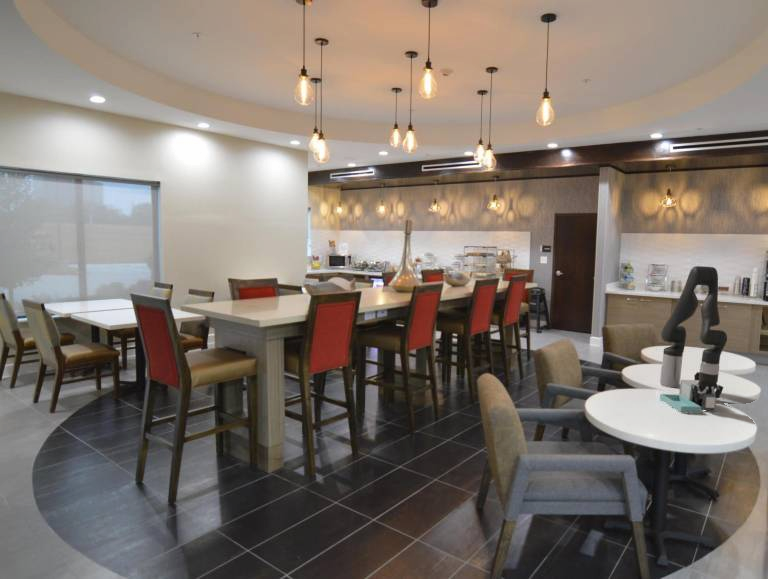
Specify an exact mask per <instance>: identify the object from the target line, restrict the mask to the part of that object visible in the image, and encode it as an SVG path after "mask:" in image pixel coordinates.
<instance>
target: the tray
mask: <svg viewBox="0 0 768 579" xmlns="http://www.w3.org/2000/svg"><path fill="white" fill-rule="evenodd" d="M659 394H660V395H659V400H660V399H661V400H662V401H664V402H666V403H667V404H669V405H670V406H672V407H673V408H672V407H671V408H672V409H674V408H675V409H676V411H677V410H678V411H677V412H679V413H680V412H692V413H691V414H702V410H701V406H699V405H697V404H695V403H693V402H692V401H690V400H688V399H686V398H684V397H683V396H681V395H679V394H676V393H675V394H672V393H671V394H670V393H659ZM661 400H660V401H661ZM662 401H661V402H662ZM664 402H663V403H664ZM667 404H666V405H667ZM669 405H668V406H669ZM670 406H669V407H670ZM675 409H674V410H675Z"/></svg>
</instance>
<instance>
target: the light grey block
mask: <svg viewBox="0 0 768 579" xmlns="http://www.w3.org/2000/svg"><path fill="white" fill-rule="evenodd" d="M698 383H699V380H695V379H680V387H679V394H678V395H681V396H683V397H684V398H686V399H688V400H690V401H692V397H693V393H692V384H694V385H696V384H698Z"/></svg>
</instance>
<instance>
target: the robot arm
mask: <svg viewBox="0 0 768 579" xmlns="http://www.w3.org/2000/svg"><path fill="white" fill-rule="evenodd" d="M718 274H719V273H718V270H717V269H716V268H715V267H713V266H701V265H699V266H698V265H697V266H693V267H692V268H691V269H690V271H689V273H688V276H687V279H686V282H685V285H684V288H683V290H682V291H681V294H680V296H679V298H678V300H677V301H676V304H675V306H674V309H673V311H672V313H671V315H670V317H669V318H668V320H667V321H666V322H665V325H664V326H663V328H662V331H661V339H662V341H664V342H665V343H674V344H672V345H671V346H667V347H664V349H663V351H662V352H663V355H662V364H661V368H660V370H661V371H660V381H659V382H660V385H661V386H664V387H668V388H680V383H681V376H682V375H681V374H682V367H683V366H682V364H683V355H684V351H685V344H686V340H687V330H686V328H685V327H684V325H681V324H682V323H683V322H686V321H687V320H689V319H690V318H691V317H693V315H694V314H695V313H696V311H697V309H698V307H699V299H698V297H697V294H696V292H695V289H696V287H697V286H707V287H708V290H707V291H708V293H707V295H706V297H705V299H704V300H703V302H702V304H701V307H700V314H701V330H700V334H699V340H700V341H701V343H702V344H703V345H706V346H707V345H708V346H711V348H705V349H704V350H702V356H701V362H700V365H699V366H700V368H699V372H700V373H699V383H698V384H696V385H694V384H692V393H693V396H695V397H696V398H697V401H696V404H697V405H699V406H701V403H702V396H703V394H705V393H712V394H715V395H716V399H720V397H721V395H722V392H723V389H724V386H722V385H720V384H717V383H718V381H719V373H720V372H719V371H720V361H721V355H722V353H723V349H724V348H725V346H726V344H727V342H728V335H727V333H726V332H725V331H724V330H721V329H720V330H719V329H711V328H713V327H716V326H717V327H718V326H719V325H720V323H721V320H720V311H719V307H718V306H719V304H718V303H719V301H718V300H719V299H718V295H719V275H718ZM698 387H699V390H697V389H698ZM701 391H702V392H701Z"/></svg>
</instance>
